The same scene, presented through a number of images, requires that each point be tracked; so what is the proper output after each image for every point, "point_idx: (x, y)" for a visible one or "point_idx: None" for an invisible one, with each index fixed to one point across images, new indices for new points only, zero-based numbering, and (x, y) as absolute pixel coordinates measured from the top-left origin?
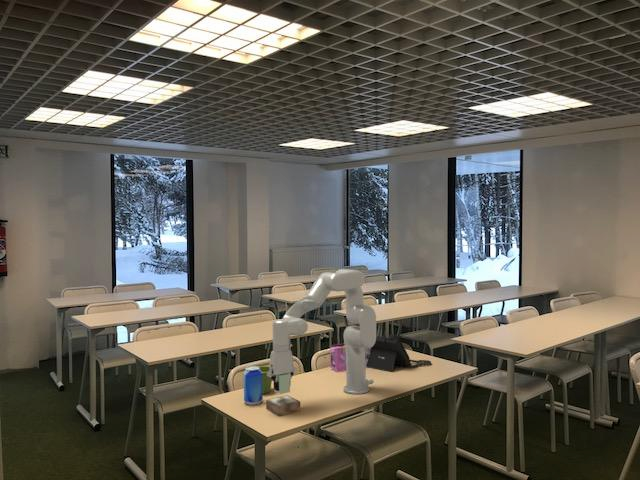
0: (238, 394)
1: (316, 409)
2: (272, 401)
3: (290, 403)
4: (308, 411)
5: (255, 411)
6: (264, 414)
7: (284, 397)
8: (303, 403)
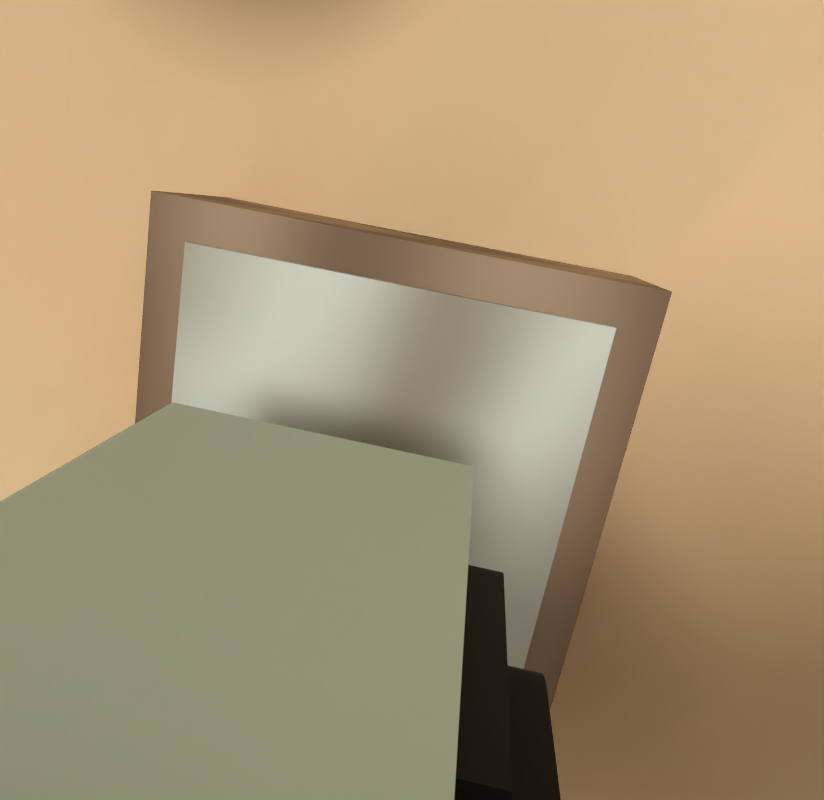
0: None
1: (707, 771)
2: (183, 375)
3: None
4: (577, 736)
5: (45, 150)
6: (84, 361)
7: (495, 385)
8: (809, 472)
